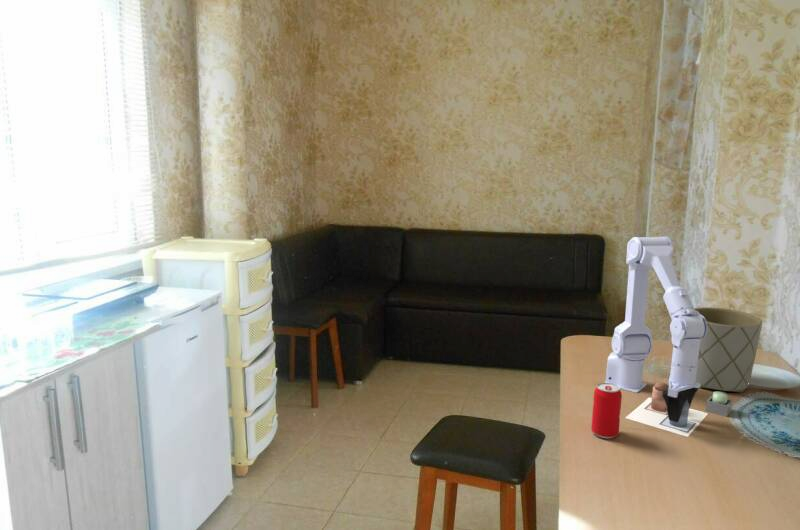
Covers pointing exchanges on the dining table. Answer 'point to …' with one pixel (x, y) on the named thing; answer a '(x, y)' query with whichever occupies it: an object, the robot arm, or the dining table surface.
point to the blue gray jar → (682, 417)
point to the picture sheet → (665, 418)
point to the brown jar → (659, 397)
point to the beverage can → (606, 410)
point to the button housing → (718, 407)
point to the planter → (727, 349)
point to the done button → (720, 398)
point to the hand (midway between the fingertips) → (678, 415)
